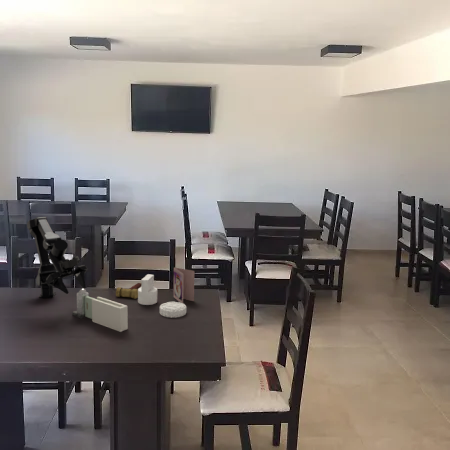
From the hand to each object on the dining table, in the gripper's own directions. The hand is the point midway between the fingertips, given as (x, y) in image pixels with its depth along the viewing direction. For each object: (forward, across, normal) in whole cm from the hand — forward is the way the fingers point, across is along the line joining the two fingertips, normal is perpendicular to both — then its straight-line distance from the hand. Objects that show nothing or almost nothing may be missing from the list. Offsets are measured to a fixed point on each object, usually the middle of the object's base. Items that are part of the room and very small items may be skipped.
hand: (76, 290), depth 219 cm
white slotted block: (+22, 0, -7) cm, 23 cm away
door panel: (+16, 0, -1) cm, 16 cm away
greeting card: (+25, +43, -10) cm, 51 cm away
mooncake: (+30, +28, -14) cm, 43 cm away
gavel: (+6, +36, +9) cm, 38 cm away
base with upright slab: (+17, +31, -2) cm, 35 cm away
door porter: (+9, 0, +6) cm, 11 cm away
